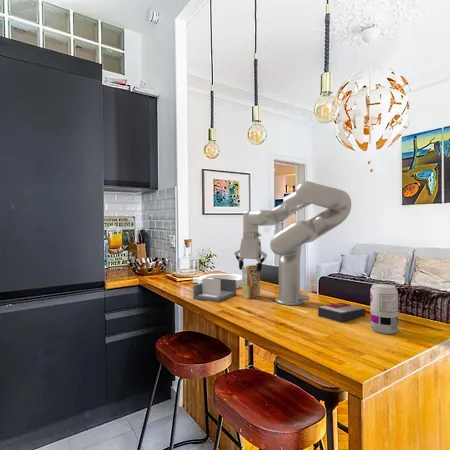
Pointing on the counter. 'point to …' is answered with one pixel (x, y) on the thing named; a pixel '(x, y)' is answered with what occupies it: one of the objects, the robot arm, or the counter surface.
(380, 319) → the supplement can
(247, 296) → the candy box
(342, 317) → the dark grey flat box
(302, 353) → the counter surface
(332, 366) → the counter surface
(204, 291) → the shelf
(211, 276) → the ring with crossbar
